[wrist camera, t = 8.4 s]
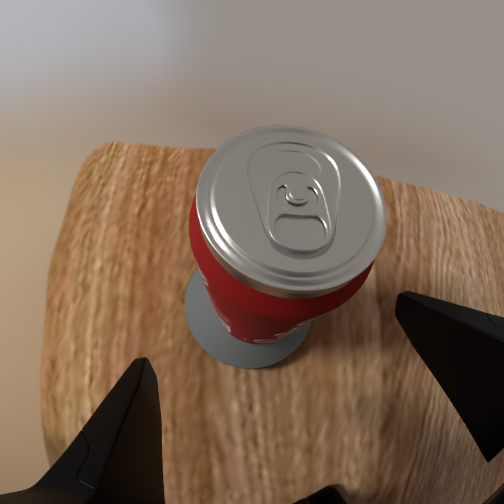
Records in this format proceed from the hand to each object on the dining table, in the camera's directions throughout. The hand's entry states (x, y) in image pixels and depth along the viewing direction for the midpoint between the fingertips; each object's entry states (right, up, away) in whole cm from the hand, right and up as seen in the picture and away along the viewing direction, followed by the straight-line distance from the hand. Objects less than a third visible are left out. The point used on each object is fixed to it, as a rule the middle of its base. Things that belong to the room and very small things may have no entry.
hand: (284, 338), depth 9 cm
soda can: (-1, 0, +9) cm, 9 cm away
